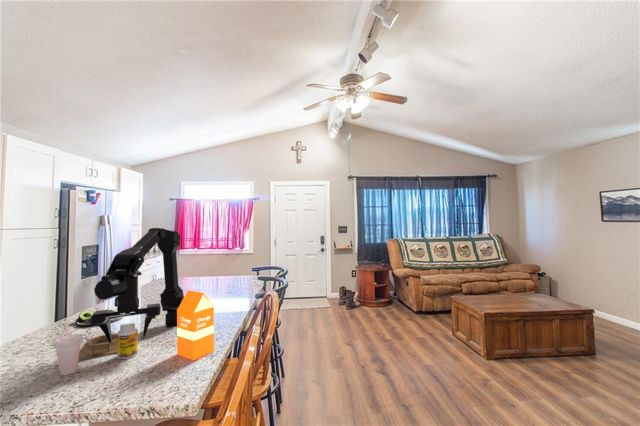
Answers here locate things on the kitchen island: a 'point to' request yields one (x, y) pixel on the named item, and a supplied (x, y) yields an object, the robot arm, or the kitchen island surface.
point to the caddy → (98, 347)
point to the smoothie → (68, 352)
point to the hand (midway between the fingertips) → (127, 339)
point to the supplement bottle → (127, 341)
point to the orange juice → (195, 326)
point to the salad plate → (85, 319)
